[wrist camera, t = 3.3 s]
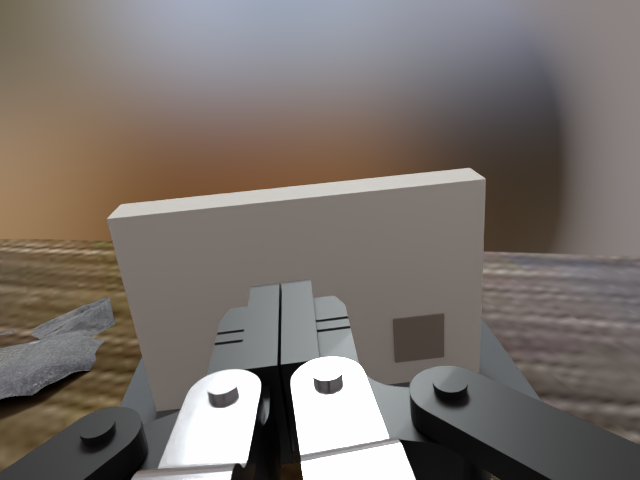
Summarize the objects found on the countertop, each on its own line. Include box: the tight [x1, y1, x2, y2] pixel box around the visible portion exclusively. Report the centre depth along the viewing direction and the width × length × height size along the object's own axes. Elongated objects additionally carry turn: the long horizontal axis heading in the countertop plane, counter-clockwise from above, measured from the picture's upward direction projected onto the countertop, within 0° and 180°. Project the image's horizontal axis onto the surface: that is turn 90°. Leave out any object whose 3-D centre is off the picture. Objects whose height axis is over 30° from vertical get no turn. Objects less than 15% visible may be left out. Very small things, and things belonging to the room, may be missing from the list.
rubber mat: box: [120, 317, 542, 451], centre depth 29 cm, size 20×15×1 cm
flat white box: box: [107, 168, 486, 411], centre depth 24 cm, size 16×2×10 cm, turn 94°
